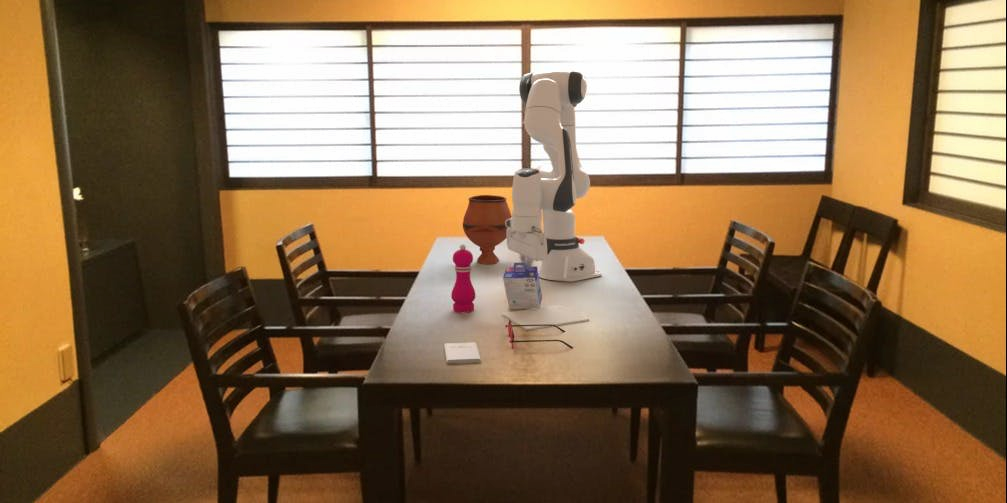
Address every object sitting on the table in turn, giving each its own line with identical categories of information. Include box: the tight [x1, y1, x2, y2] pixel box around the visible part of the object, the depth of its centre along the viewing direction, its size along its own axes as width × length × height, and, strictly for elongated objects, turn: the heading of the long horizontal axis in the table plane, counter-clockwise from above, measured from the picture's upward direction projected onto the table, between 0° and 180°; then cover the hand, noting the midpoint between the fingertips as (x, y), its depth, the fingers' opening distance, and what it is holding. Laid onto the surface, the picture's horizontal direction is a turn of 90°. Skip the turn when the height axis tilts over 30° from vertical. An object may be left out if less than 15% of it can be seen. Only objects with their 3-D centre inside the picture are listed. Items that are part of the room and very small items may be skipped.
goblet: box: [462, 194, 512, 265], centre depth 287 cm, size 19×19×25 cm
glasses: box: [504, 319, 574, 349], centre depth 198 cm, size 14×16×5 cm
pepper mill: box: [450, 243, 476, 313], centre depth 224 cm, size 7×7×20 cm
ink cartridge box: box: [502, 262, 543, 309], centre depth 224 cm, size 10×6×14 cm
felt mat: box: [501, 304, 590, 331], centre depth 218 cm, size 20×16×1 cm
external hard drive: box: [443, 341, 482, 364], centre depth 188 cm, size 2×8×12 cm
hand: (526, 269), depth 226 cm, fingers closed
